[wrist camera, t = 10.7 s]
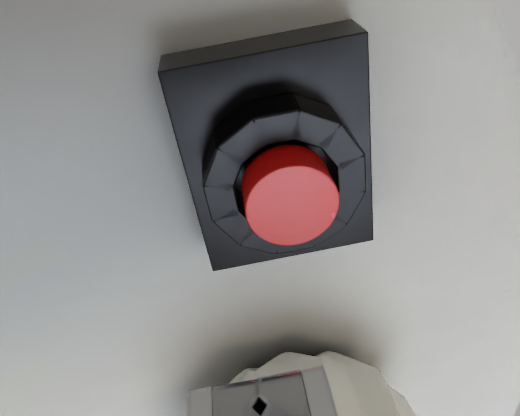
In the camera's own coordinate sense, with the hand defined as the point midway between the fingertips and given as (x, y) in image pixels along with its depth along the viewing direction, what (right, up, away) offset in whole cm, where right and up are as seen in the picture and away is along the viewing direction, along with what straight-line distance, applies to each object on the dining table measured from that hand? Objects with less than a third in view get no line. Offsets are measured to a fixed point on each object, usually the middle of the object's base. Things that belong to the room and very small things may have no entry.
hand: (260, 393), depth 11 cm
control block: (+1, +7, +12) cm, 14 cm away
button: (+1, +5, +9) cm, 10 cm away
